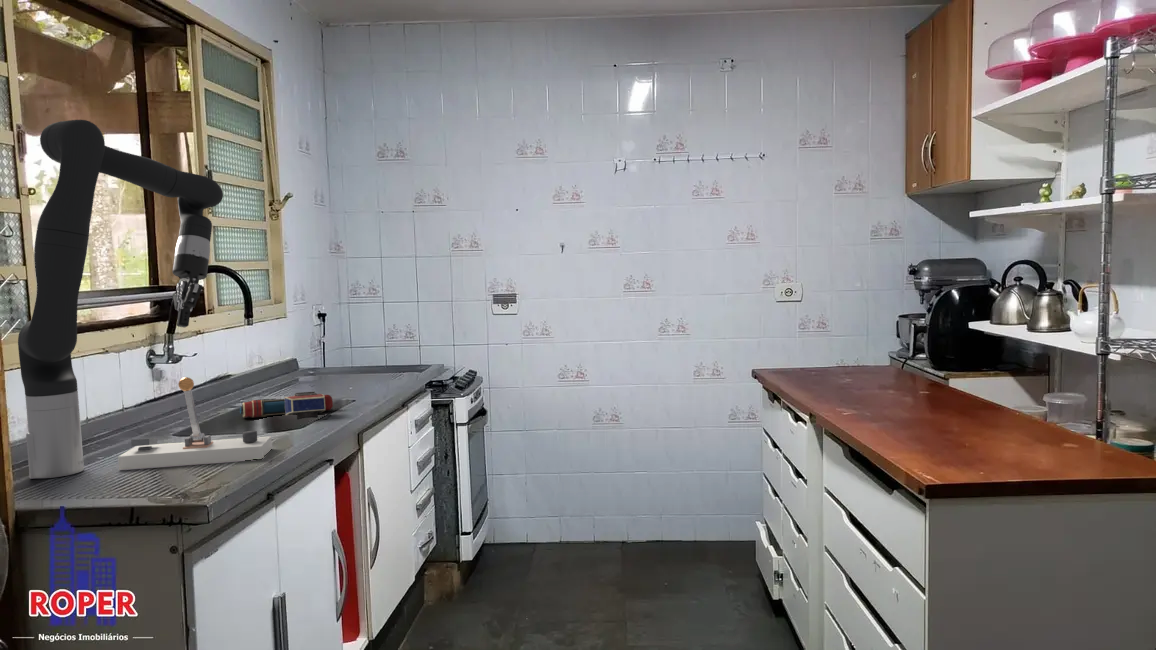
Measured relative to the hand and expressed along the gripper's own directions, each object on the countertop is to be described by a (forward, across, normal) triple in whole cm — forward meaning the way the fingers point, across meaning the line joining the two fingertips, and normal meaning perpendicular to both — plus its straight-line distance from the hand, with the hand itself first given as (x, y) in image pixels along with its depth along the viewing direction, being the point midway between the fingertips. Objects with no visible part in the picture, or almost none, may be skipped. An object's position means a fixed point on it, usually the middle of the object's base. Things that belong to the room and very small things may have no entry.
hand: (182, 326), depth 185 cm
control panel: (+31, +8, +5) cm, 33 cm away
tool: (+16, -24, +40) cm, 49 cm away
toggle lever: (+27, +9, +4) cm, 29 cm away
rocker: (+28, +3, -5) cm, 29 cm away
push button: (+27, +15, +13) cm, 34 cm away
